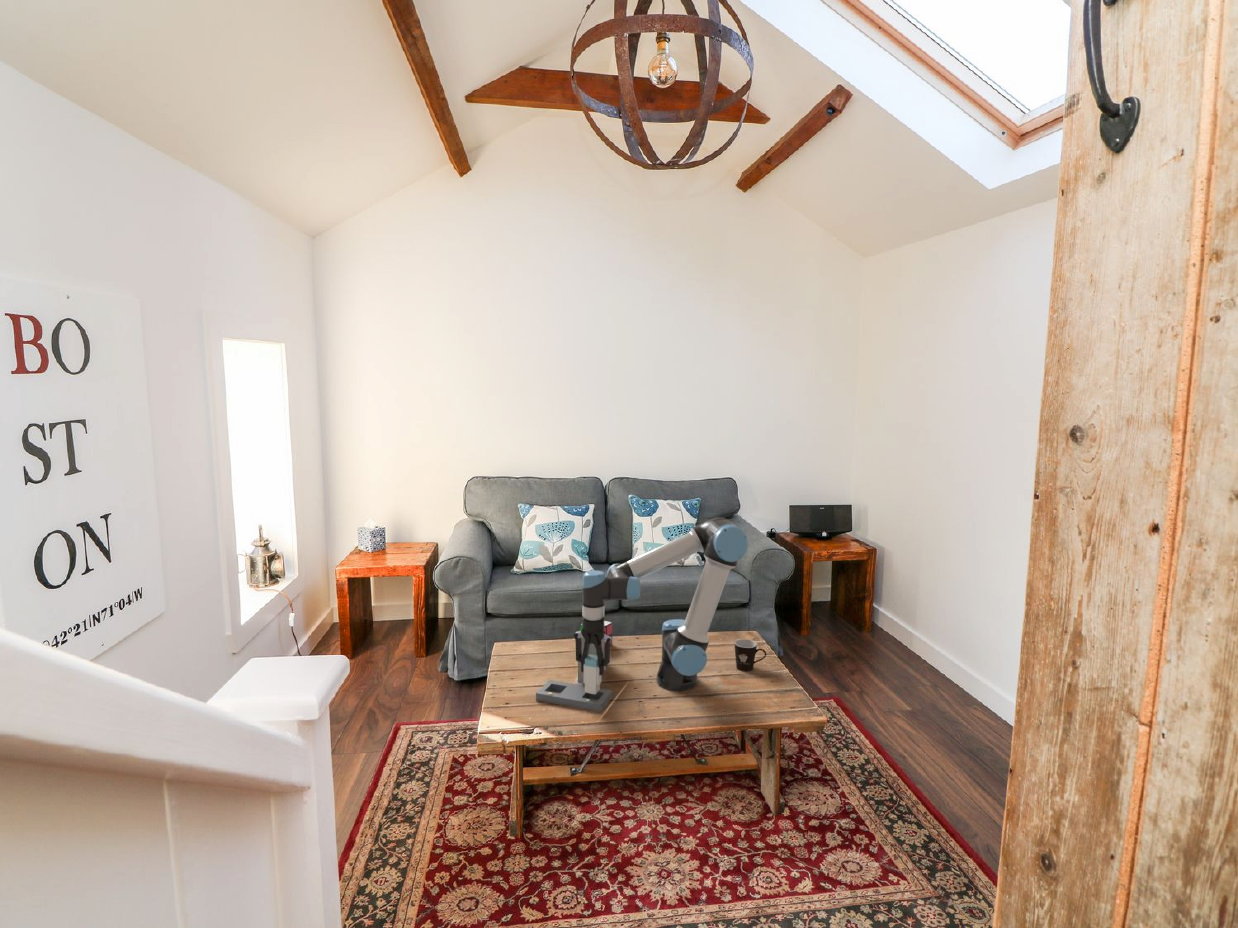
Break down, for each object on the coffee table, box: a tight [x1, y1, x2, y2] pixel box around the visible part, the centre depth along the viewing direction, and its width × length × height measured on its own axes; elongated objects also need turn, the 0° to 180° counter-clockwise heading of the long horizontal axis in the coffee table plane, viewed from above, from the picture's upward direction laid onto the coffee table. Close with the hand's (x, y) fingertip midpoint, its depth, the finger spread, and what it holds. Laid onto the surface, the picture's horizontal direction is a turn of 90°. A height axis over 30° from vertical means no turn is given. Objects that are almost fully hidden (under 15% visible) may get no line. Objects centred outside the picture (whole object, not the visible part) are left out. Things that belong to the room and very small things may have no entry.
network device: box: [574, 636, 607, 686], centre depth 252 cm, size 26×9×20 cm, turn 168°
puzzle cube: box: [579, 620, 613, 651], centre depth 279 cm, size 10×10×10 cm
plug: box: [584, 654, 601, 694], centre depth 229 cm, size 4×4×12 cm
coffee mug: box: [734, 638, 767, 673], centre depth 258 cm, size 12×9×10 cm
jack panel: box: [535, 679, 613, 713], centre depth 233 cm, size 24×11×3 cm, turn 71°
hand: (592, 682), depth 230 cm, fingers closed on plug, 4 cm apart
